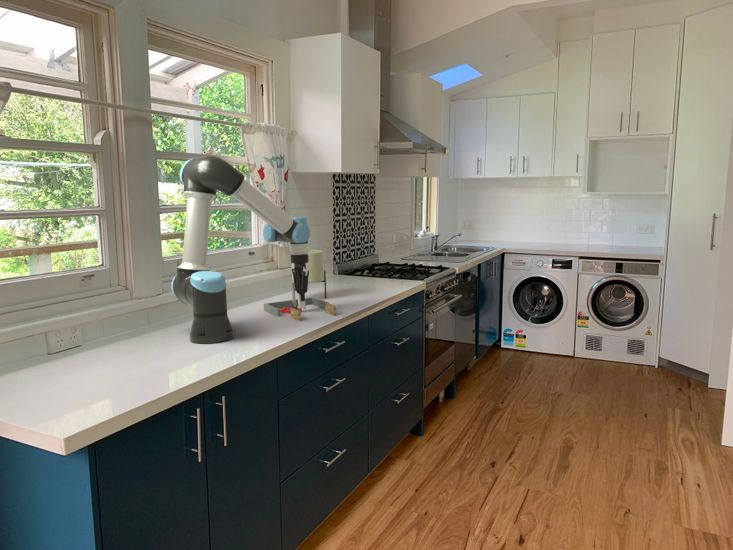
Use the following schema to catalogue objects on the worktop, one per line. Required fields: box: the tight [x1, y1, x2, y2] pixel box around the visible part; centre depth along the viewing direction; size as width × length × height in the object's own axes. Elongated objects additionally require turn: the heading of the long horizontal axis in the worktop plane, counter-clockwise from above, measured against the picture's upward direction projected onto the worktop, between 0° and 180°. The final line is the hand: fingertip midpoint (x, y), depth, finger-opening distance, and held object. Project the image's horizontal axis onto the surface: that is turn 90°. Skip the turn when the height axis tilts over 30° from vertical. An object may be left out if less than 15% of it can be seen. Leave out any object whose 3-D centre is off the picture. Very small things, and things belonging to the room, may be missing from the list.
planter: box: [290, 249, 327, 299], centre depth 269 cm, size 15×16×23 cm
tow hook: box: [280, 282, 303, 314], centre depth 244 cm, size 8×13×9 cm
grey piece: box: [263, 296, 330, 317], centre depth 246 cm, size 24×16×3 cm, turn 121°
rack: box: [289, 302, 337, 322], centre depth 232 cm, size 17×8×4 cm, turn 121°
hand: (301, 308), depth 242 cm, fingers closed
